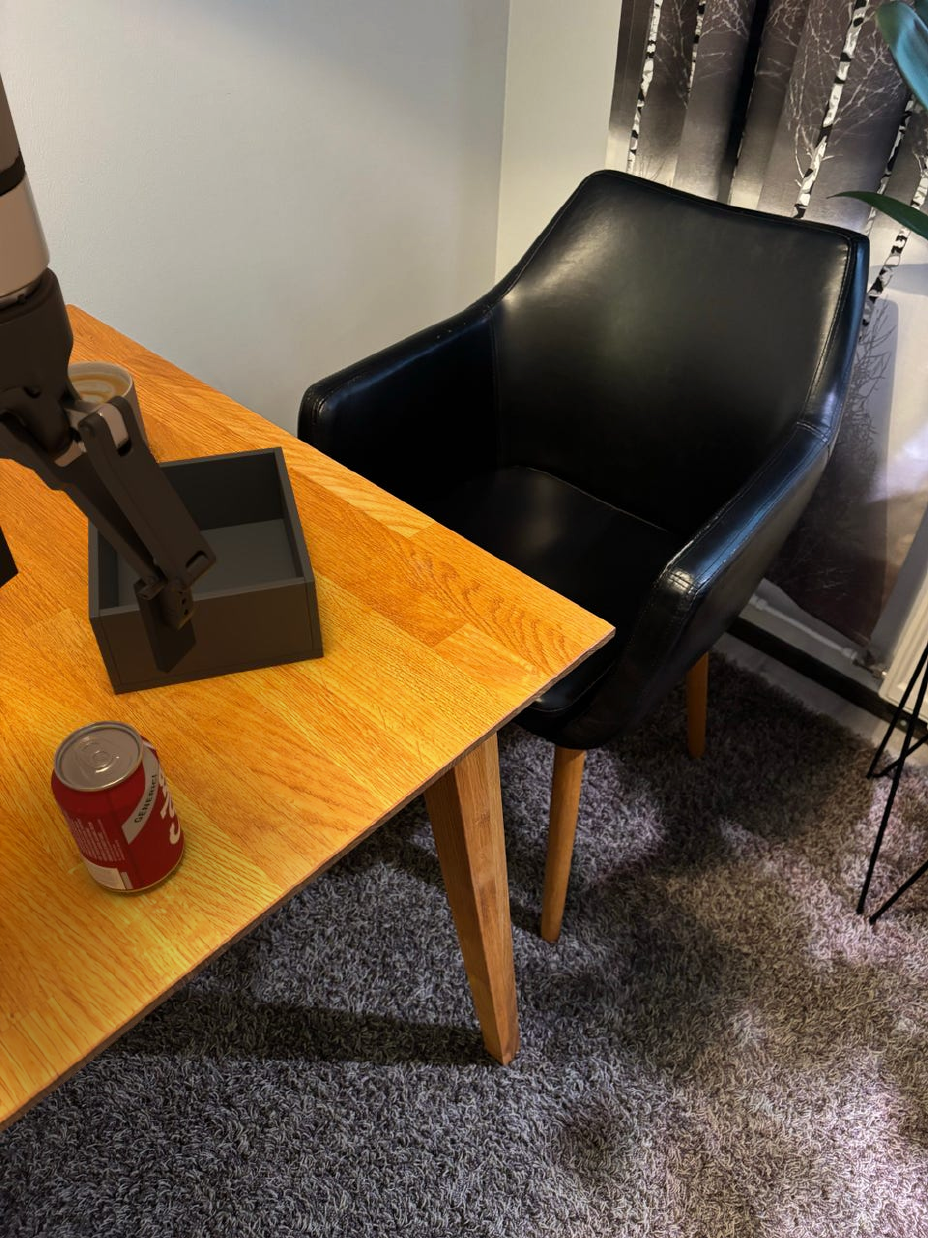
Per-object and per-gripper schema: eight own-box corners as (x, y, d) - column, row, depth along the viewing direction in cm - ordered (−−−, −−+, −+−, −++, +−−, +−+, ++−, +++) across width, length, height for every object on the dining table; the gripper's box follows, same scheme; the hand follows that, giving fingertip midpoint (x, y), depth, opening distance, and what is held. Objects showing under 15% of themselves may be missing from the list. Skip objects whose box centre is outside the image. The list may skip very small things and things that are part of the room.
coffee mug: (152, 491, 101) (131, 407, 94) (52, 501, 99) (23, 417, 92) (153, 421, 110) (135, 340, 103) (62, 429, 108) (37, 348, 101)
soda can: (124, 916, 67) (80, 817, 58) (71, 857, 70) (22, 755, 61) (205, 853, 70) (174, 752, 62) (150, 800, 73) (114, 696, 65)
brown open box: (114, 694, 81) (88, 618, 75) (110, 547, 94) (87, 471, 88) (323, 657, 85) (315, 580, 78) (291, 520, 98) (281, 445, 92)
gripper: (248, 307, 42) (295, 646, 57) (-161, 197, 49) (-25, 523, 64) (135, 388, 37) (219, 736, 52) (-301, 252, 44) (-118, 592, 59)
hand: (85, 619), depth 58 cm, fingers open, 13 cm apart
